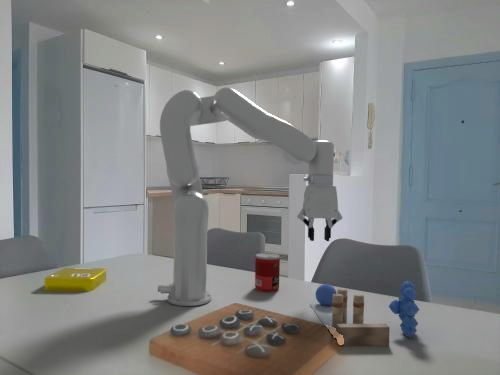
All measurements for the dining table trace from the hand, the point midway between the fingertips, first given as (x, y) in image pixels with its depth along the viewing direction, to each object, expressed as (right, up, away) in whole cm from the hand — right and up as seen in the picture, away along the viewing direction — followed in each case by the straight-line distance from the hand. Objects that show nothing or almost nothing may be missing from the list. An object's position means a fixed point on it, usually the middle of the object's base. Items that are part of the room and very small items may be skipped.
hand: (319, 239), depth 118 cm
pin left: (-1, -18, -28) cm, 33 cm away
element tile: (-78, -16, +6) cm, 80 cm away
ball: (0, -14, -9) cm, 17 cm away
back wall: (+3, -18, -35) cm, 40 cm away
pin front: (+1, -18, -24) cm, 30 cm away
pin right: (+4, -18, -28) cm, 33 cm away
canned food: (-16, -17, +7) cm, 24 cm away
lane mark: (+1, -18, -21) cm, 27 cm away
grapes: (+15, -18, -28) cm, 37 cm away
